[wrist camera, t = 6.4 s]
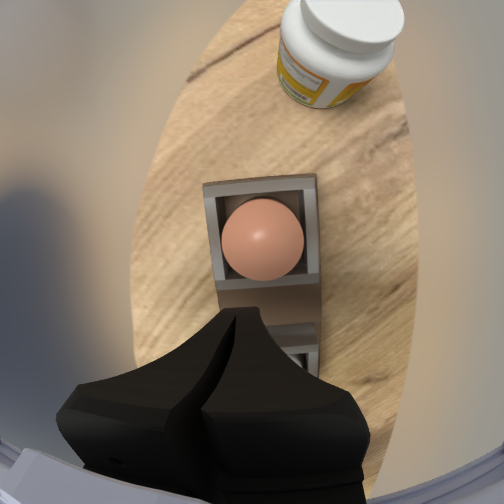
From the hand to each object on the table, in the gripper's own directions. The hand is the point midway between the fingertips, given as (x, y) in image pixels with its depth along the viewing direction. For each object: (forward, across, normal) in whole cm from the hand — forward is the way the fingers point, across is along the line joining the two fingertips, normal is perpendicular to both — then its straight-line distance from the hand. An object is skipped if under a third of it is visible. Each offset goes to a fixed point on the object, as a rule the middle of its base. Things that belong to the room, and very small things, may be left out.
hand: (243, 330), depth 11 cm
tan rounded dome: (+7, -1, -2) cm, 7 cm away
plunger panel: (+10, -1, +3) cm, 10 cm away
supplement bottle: (+10, -5, -12) cm, 16 cm away
